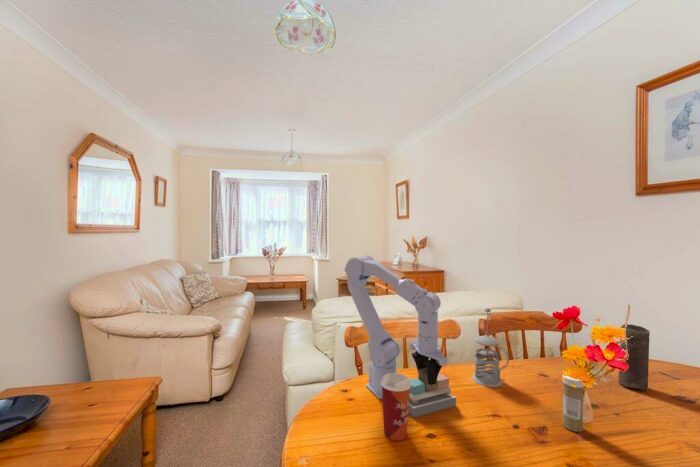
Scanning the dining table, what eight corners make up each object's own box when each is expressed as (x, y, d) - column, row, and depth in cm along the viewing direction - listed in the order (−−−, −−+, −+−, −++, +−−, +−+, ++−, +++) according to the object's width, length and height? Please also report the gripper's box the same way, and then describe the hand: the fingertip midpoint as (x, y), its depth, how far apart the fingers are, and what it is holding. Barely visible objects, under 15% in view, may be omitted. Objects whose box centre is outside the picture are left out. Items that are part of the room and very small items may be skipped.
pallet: (403, 395, 94) (403, 371, 94) (439, 386, 100) (439, 364, 100) (413, 403, 90) (413, 378, 90) (450, 394, 95) (450, 370, 95)
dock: (398, 404, 95) (398, 395, 95) (439, 394, 101) (439, 385, 101) (413, 417, 88) (413, 408, 88) (455, 405, 94) (455, 397, 94)
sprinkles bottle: (586, 429, 84) (587, 377, 84) (578, 435, 81) (579, 382, 81) (566, 420, 87) (567, 371, 87) (558, 425, 85) (559, 375, 85)
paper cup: (403, 447, 76) (404, 388, 76) (374, 436, 80) (375, 380, 80) (415, 430, 82) (415, 376, 82) (388, 421, 87) (388, 369, 86)
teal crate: (405, 389, 94) (405, 380, 94) (416, 386, 96) (416, 378, 96) (413, 395, 90) (413, 386, 90) (425, 392, 92) (425, 384, 92)
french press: (475, 371, 118) (476, 303, 118) (510, 380, 111) (511, 308, 111) (468, 381, 110) (469, 308, 110) (505, 391, 103) (506, 314, 103)
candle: (645, 385, 108) (646, 326, 108) (651, 394, 102) (652, 331, 102) (616, 379, 112) (617, 322, 112) (620, 388, 106) (621, 327, 106)
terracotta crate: (429, 383, 97) (429, 375, 97) (439, 381, 99) (439, 373, 99) (438, 389, 94) (438, 381, 94) (448, 386, 95) (448, 378, 95)
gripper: (455, 340, 90) (455, 389, 90) (423, 326, 103) (423, 368, 103) (435, 343, 87) (434, 394, 87) (405, 328, 100) (404, 372, 100)
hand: (427, 380), depth 95 cm, fingers closed on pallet, 4 cm apart
